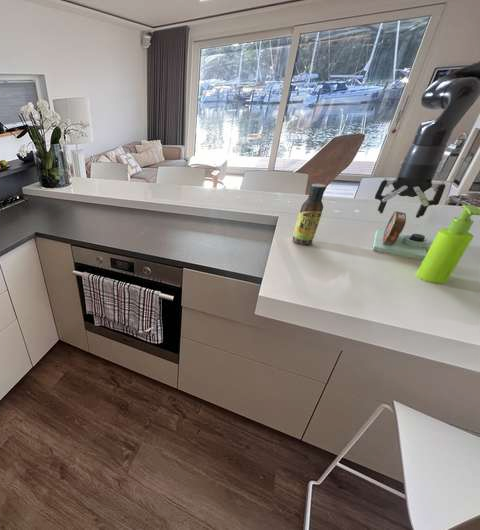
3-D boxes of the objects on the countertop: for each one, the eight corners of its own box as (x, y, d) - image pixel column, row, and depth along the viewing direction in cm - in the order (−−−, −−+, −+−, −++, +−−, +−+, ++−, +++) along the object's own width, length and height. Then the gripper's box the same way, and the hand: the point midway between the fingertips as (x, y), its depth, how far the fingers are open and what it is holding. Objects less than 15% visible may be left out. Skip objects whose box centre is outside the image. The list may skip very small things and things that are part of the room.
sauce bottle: (293, 245, 98) (308, 187, 88) (289, 237, 103) (303, 182, 93) (315, 246, 96) (332, 187, 86) (310, 238, 101) (326, 182, 91)
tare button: (422, 239, 89) (425, 235, 89) (423, 243, 88) (425, 238, 87) (409, 237, 91) (411, 233, 90) (409, 241, 89) (412, 236, 89)
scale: (424, 240, 94) (428, 232, 93) (426, 260, 84) (431, 251, 82) (375, 232, 101) (379, 224, 100) (372, 250, 91) (376, 242, 90)
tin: (384, 230, 99) (393, 207, 95) (396, 232, 97) (406, 208, 93) (381, 247, 90) (392, 222, 86) (394, 249, 88) (406, 224, 84)
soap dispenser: (419, 282, 76) (458, 210, 65) (413, 269, 80) (449, 201, 70) (450, 287, 73) (496, 213, 63) (443, 274, 78) (484, 203, 68)
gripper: (456, 159, 80) (429, 214, 88) (389, 157, 88) (370, 207, 96) (459, 165, 75) (431, 222, 83) (388, 162, 83) (368, 214, 91)
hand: (398, 214), depth 89 cm, fingers open, 8 cm apart
